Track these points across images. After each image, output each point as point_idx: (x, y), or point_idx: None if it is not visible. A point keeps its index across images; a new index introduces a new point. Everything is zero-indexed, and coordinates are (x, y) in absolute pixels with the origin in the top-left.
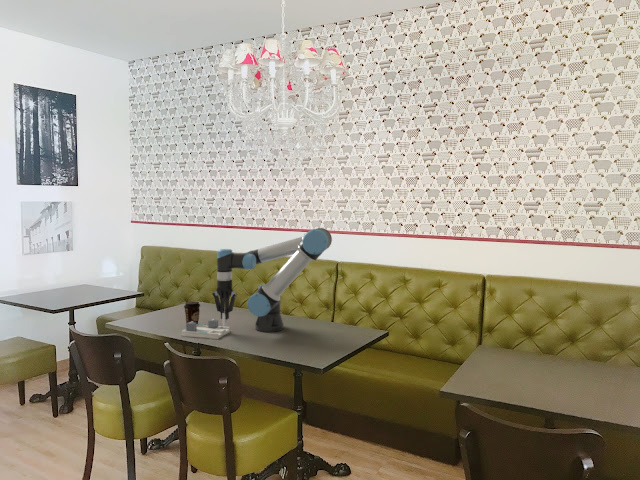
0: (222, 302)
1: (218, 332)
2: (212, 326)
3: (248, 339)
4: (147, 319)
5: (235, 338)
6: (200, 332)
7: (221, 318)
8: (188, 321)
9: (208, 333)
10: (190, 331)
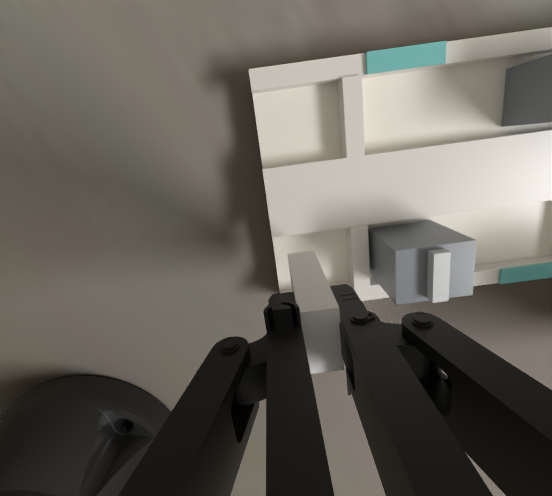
0: (398, 455)
1: (297, 164)
2: (406, 232)
3: (27, 178)
4: None
5: (134, 159)
6: (430, 43)
7: (343, 286)
8: None
9: (343, 56)
10: (542, 36)
